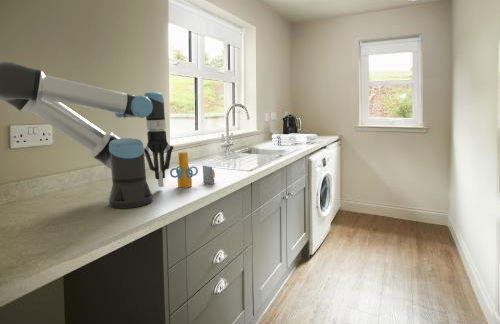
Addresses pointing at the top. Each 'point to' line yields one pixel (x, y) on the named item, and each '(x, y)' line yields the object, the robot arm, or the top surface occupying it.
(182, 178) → the orange block with rings
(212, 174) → the grey stone
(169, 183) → the top surface
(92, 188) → the top surface
